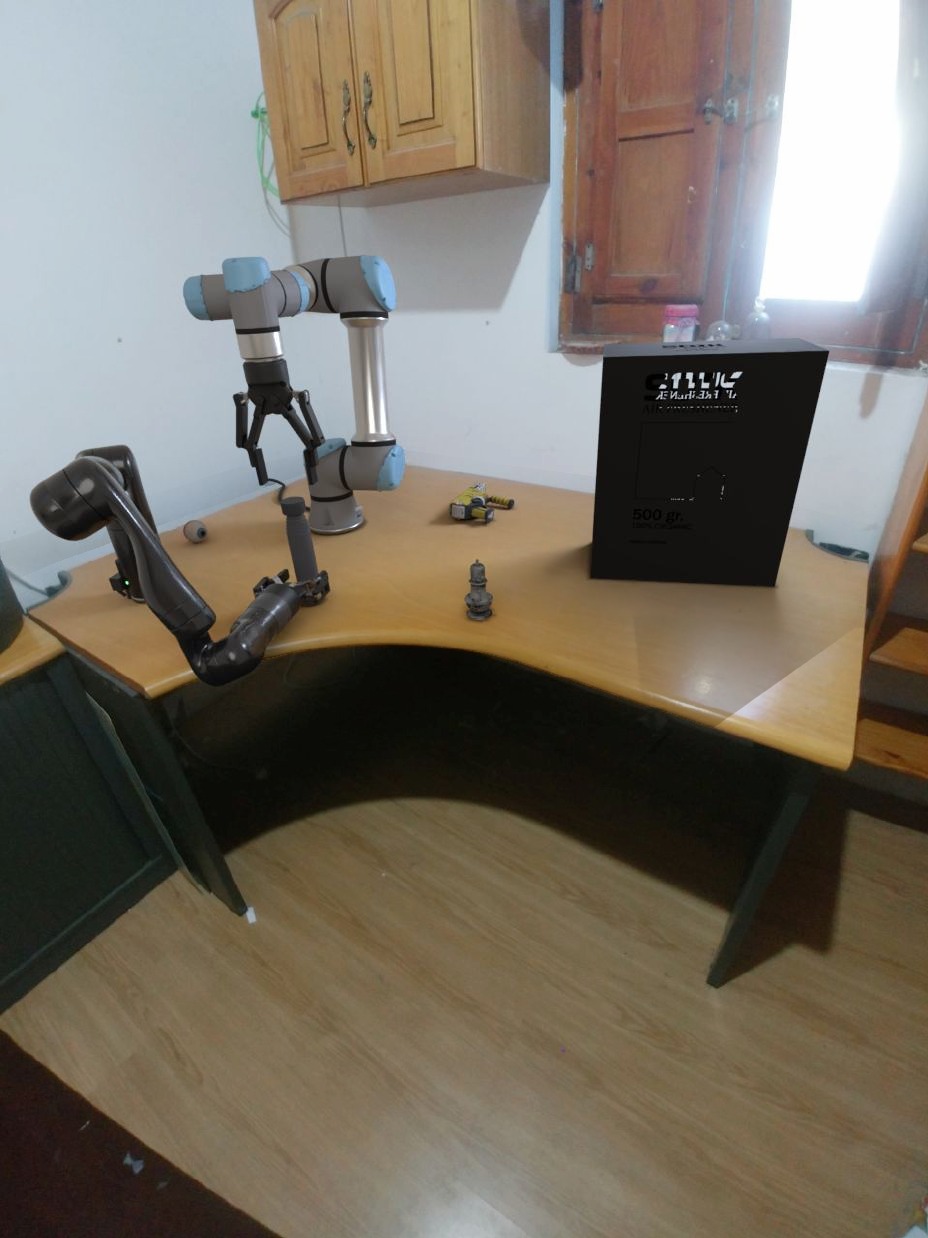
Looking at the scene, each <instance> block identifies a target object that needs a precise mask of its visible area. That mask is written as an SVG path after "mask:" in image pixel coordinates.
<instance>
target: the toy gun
mask: <svg viewBox="0 0 928 1238" xmlns="http://www.w3.org/2000/svg"><path fill="white" fill-rule="evenodd" d="M486 491H487V484H486V483H485V482H480V481H477V482H475V483H474V484H473V485H472V486H469V487H468V488H467V489H466V490H465V491H463V492H462V493H461V494H459V496H457V497H456V498H455V499H453V500H452V501H451V502H450V503H449V505H448V506H449V507H448V516H450V518H453V519H454V520H456V519H457V520H459V521H460V520H461V519H462V520H469V519H473V518H478V519H482V520H484V523H489V522H490V521H492V520H494V516H495V515H494V514H495V507H492V506H491V507H489V508H488V506H487V505H488V504H490V503H491V504H495V505H498V506H503V507H506V508H509V509H512V508H514V506H515V500H514V499H513V498H507V497H503V496H499V495H495V494H492V495H491V496H490V497H489V495H488V493H487V492H486Z"/></svg>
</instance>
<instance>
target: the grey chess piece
mask: <svg viewBox="0 0 928 1238" xmlns="http://www.w3.org/2000/svg"><path fill="white" fill-rule="evenodd" d="M469 573H470V578H469V580H468V583H469V584H470V592H469V593H467V594H466V595H464V597H463V600H464V602H465V605H466V607H467V608H468V609H467V611H466V613H465V614H466V617H467V618H468V619H470V620H473V621H484V620H487V619H489V618H491V617H492V616H493V613H494V612H493V610H492V609H491V607H492V604H493V601H494V594H493V593H490V592H488V591H487V583H488V579H487V578H486V566H485V565H484V563H481V562H480V561H479V559H475V562H474V563H472V564H471V565H470V567H469Z"/></svg>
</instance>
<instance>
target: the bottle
mask: <svg viewBox="0 0 928 1238" xmlns="http://www.w3.org/2000/svg"><path fill="white" fill-rule="evenodd" d="M285 524H286V525H285V527H286V528H285V531H286V532H285V533H286V537H287V541H288V547H289V551H290V554H291V555H290V556H291V561H292V566H293V570H294V574H295V580H296V583H298V582H300V581H303V580H305V579H309V580H312V579H314V578H316V577H317V576H318V574H319V573H320V572H319V569H318V563H317V557H316V551H315V547H314V541H313V536H312V533H311V532H312V531H311V530H310V527H309V522H308V519H307V518H306V515H305V513H303V514H300V515H296V516H286V517H285ZM316 586H317V585H316V583H315V584H313V588H315V587H316ZM304 588H305V589H306V591H307V585H304ZM323 601H324V598H323V599H322V600H321V601H320V602H319V603H314V600H312V599H307V600H306V601H304V602H302V603H301V605H303V606H304V607H313V606H317V605H319V604H322V603H323Z"/></svg>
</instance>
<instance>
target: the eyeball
mask: <svg viewBox="0 0 928 1238" xmlns="http://www.w3.org/2000/svg"><path fill="white" fill-rule="evenodd" d="M182 534H183V537H185V539H186V540H187V541H188V542H191V543H195V544H196V543H197V544H198V543H201V542H203V541H204V540H205V539H206V538H207V536H208V527H207V525H206V524H205V523H203V522H202V521H200V520H197V519H193V520H189V521H187V522H186V523H185V524H184V525H183V528H182Z"/></svg>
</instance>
